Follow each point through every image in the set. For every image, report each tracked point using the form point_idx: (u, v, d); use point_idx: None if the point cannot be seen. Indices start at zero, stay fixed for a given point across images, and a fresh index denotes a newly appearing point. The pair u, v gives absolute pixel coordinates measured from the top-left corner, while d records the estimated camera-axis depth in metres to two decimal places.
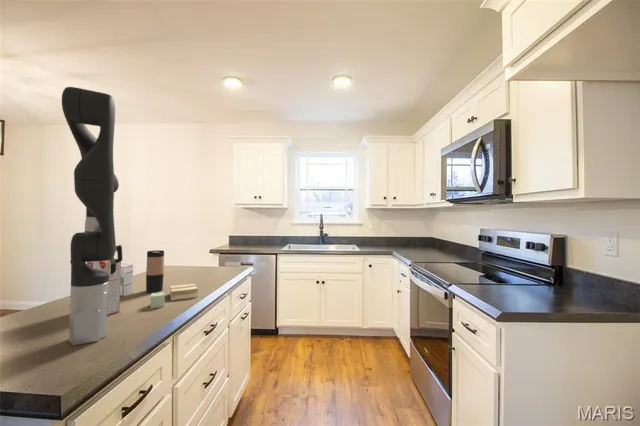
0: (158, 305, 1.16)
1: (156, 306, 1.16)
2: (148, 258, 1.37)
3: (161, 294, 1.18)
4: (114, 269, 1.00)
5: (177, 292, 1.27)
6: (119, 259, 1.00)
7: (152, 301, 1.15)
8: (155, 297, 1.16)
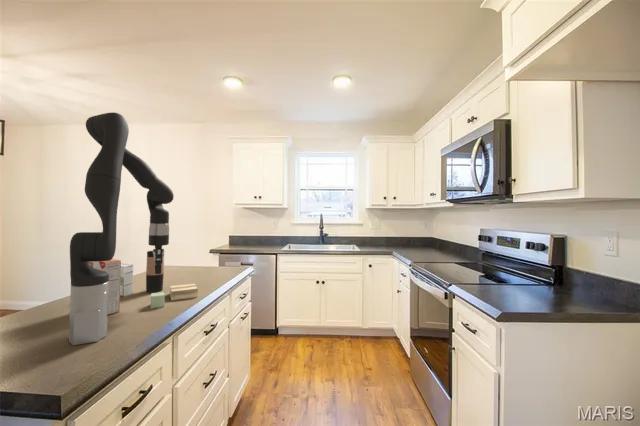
0: (158, 305, 1.16)
1: (156, 306, 1.16)
2: (148, 258, 1.37)
3: (161, 294, 1.18)
4: None
5: (177, 292, 1.27)
6: None
7: (152, 301, 1.15)
8: (155, 297, 1.16)
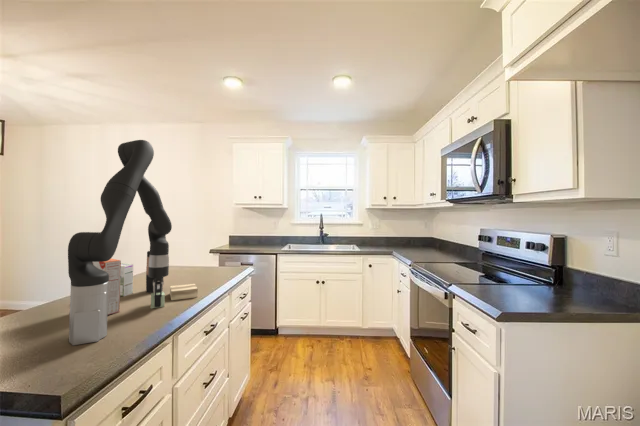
0: None
1: None
2: (148, 258, 1.37)
3: None
4: None
5: (177, 292, 1.27)
6: None
7: (152, 301, 1.15)
8: None
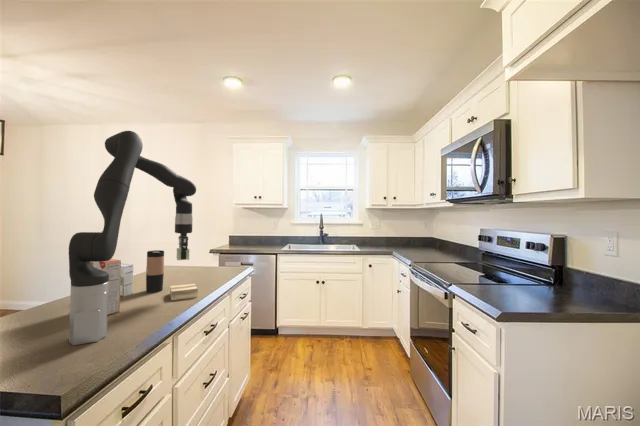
0: None
1: None
2: (148, 258, 1.37)
3: None
4: None
5: (177, 292, 1.27)
6: None
7: (179, 254, 1.30)
8: None
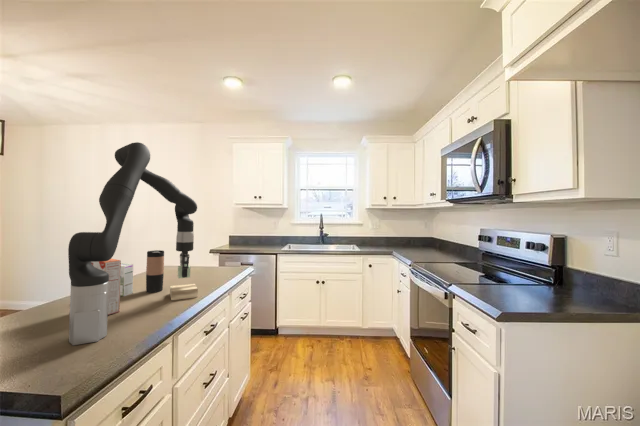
0: None
1: None
2: (148, 258, 1.37)
3: None
4: None
5: (177, 292, 1.27)
6: None
7: (180, 272, 1.30)
8: None
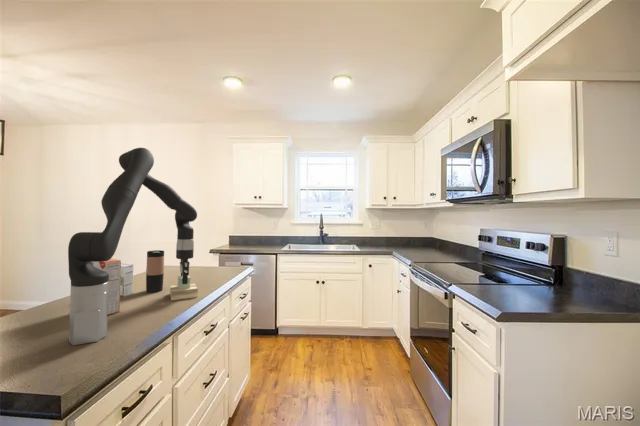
0: (185, 286, 1.31)
1: (183, 287, 1.31)
2: (148, 258, 1.37)
3: None
4: None
5: (177, 292, 1.27)
6: None
7: (180, 283, 1.30)
8: None
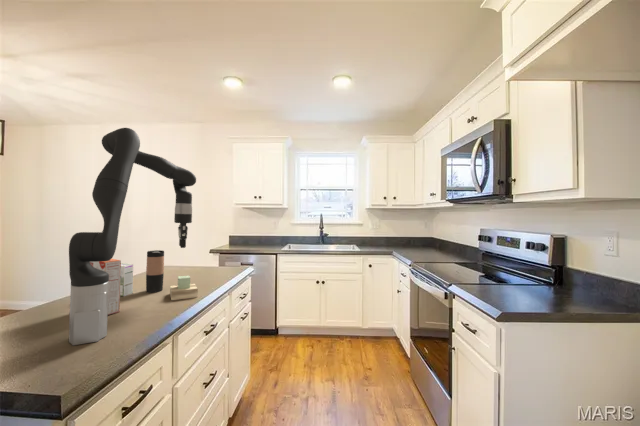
0: (185, 286, 1.31)
1: (183, 287, 1.31)
2: (148, 258, 1.37)
3: (187, 277, 1.33)
4: None
5: (177, 292, 1.27)
6: None
7: (180, 283, 1.30)
8: (182, 279, 1.30)
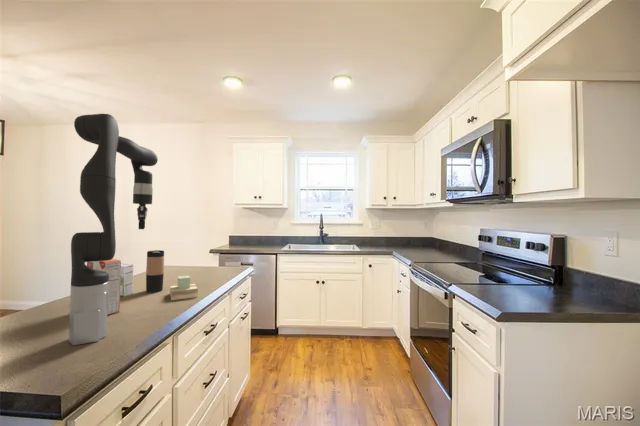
0: (185, 286, 1.31)
1: (183, 287, 1.31)
2: (148, 258, 1.37)
3: (187, 277, 1.33)
4: (143, 224, 1.32)
5: (177, 292, 1.27)
6: (145, 216, 1.34)
7: (180, 283, 1.30)
8: (182, 279, 1.30)
